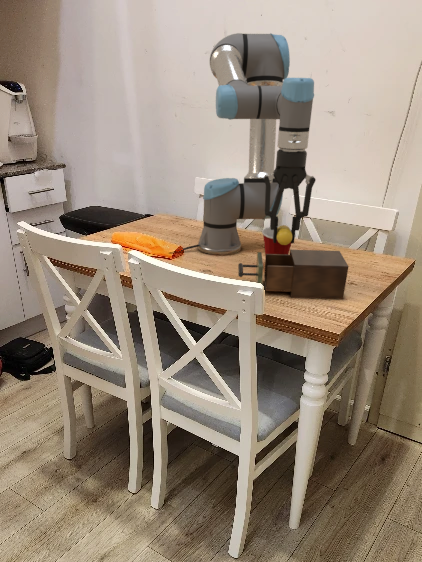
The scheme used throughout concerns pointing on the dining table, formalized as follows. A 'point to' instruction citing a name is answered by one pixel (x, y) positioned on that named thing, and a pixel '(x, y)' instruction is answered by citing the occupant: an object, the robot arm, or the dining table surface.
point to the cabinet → (318, 274)
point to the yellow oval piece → (284, 235)
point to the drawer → (272, 271)
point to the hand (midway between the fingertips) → (283, 241)
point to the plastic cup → (274, 247)
